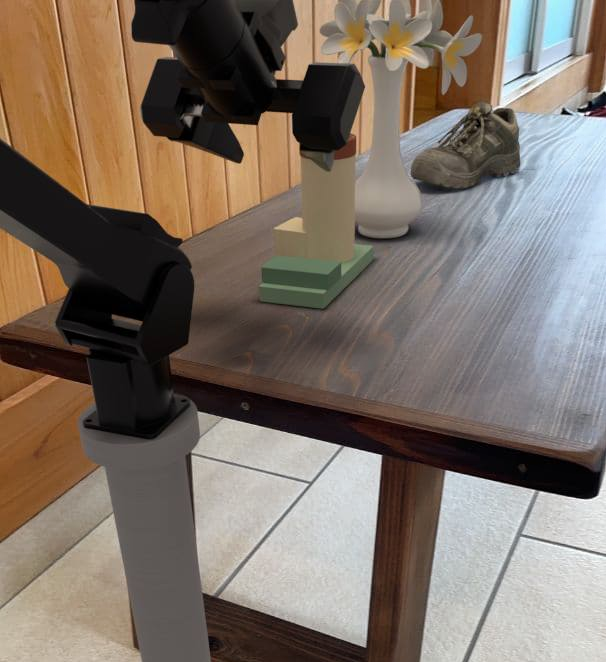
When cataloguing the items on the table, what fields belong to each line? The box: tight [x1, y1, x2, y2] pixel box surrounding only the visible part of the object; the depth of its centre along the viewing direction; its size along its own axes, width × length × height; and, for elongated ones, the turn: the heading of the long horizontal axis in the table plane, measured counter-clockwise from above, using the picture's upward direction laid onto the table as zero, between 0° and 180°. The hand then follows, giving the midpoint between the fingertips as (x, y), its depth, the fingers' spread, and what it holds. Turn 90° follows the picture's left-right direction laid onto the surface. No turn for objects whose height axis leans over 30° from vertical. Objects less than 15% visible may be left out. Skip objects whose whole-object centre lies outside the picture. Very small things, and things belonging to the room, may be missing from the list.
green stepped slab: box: [258, 243, 375, 310], centre depth 91 cm, size 16×7×3 cm, turn 158°
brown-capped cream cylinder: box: [272, 132, 357, 263], centre depth 90 cm, size 8×6×12 cm
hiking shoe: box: [409, 100, 521, 189], centre depth 122 cm, size 9×21×12 cm, turn 133°
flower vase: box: [319, 0, 483, 239], centre depth 98 cm, size 13×18×25 cm
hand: (284, 162), depth 77 cm, fingers open, 9 cm apart
